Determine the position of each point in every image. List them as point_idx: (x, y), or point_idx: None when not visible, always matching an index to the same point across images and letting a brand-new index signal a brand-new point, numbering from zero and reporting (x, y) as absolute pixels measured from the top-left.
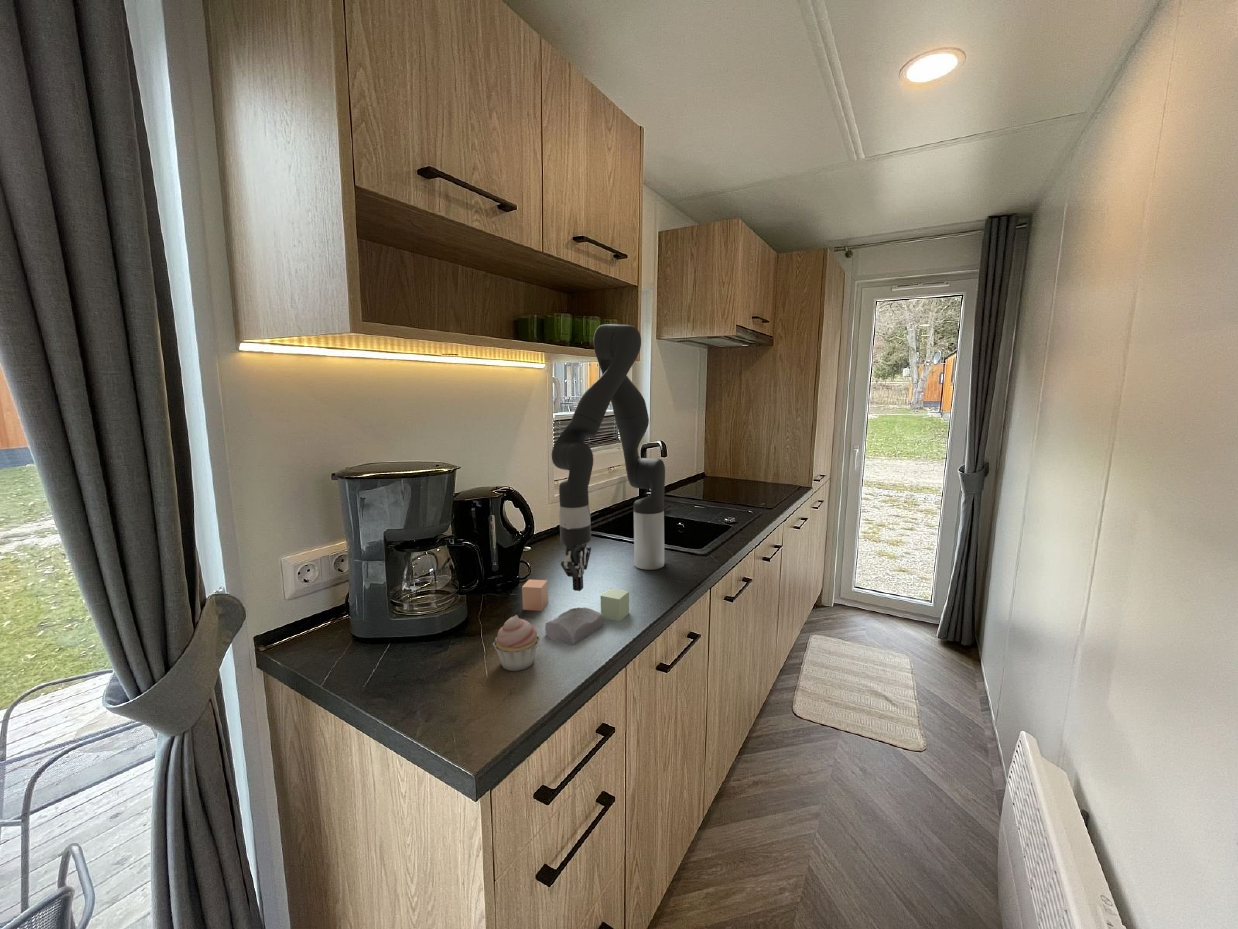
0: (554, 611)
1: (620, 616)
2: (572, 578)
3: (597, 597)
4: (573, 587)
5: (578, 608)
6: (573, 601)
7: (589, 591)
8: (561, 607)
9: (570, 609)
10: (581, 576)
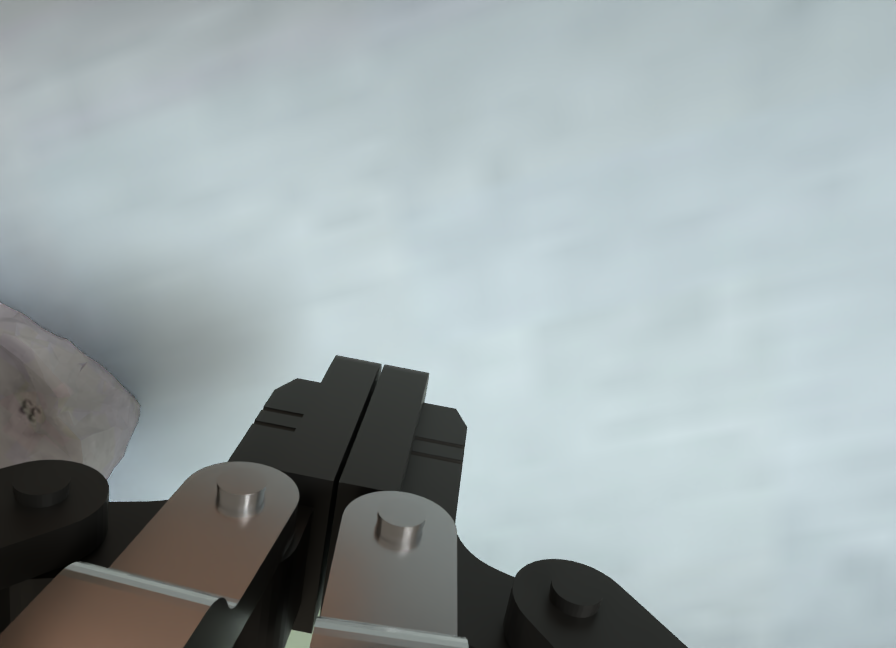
0: (229, 51)
1: None
2: (288, 444)
3: (697, 462)
4: (274, 397)
5: (54, 444)
6: (559, 213)
7: (891, 338)
8: (360, 108)
9: (16, 353)
10: (307, 630)
